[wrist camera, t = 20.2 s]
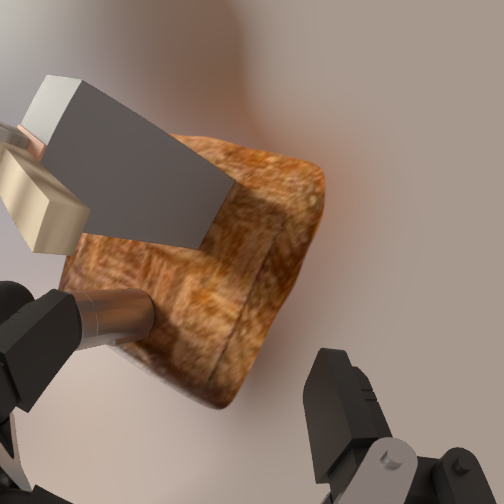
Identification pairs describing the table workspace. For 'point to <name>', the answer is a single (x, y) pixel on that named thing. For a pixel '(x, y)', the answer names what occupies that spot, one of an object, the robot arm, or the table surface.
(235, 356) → the table surface
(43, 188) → the beam
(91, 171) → the pedestal
